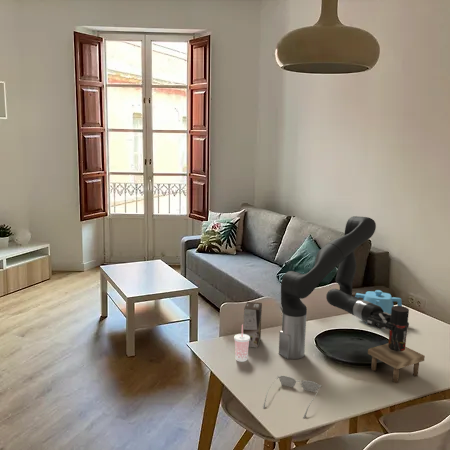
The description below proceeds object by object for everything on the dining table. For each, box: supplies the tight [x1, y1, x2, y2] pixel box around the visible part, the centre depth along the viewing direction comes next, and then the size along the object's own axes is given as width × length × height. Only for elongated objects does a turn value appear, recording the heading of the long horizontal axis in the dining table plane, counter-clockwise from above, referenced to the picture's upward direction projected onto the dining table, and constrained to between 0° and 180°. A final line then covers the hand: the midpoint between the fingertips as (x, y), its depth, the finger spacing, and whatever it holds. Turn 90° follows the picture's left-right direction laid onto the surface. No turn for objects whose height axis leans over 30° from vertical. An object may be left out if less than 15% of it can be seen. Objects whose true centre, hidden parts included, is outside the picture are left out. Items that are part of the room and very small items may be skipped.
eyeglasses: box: [262, 375, 322, 420], centre depth 174 cm, size 15×18×4 cm
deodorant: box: [387, 305, 410, 351], centre depth 192 cm, size 6×6×15 cm
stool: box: [367, 343, 425, 384], centre depth 195 cm, size 14×14×8 cm
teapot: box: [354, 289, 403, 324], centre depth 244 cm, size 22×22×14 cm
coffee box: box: [243, 301, 263, 348], centre depth 218 cm, size 9×6×16 cm
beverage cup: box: [233, 323, 250, 363], centre depth 203 cm, size 6×6×14 cm
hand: (401, 327), depth 191 cm, fingers closed on deodorant, 6 cm apart
